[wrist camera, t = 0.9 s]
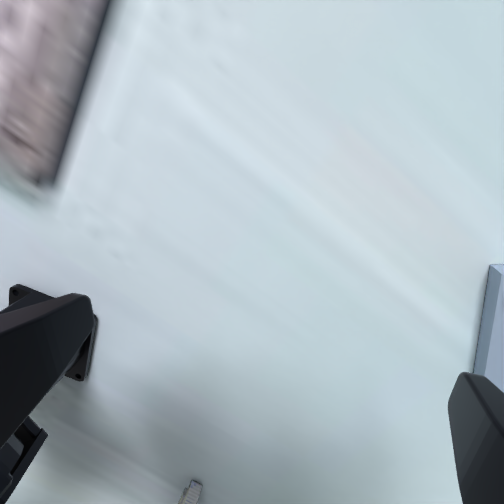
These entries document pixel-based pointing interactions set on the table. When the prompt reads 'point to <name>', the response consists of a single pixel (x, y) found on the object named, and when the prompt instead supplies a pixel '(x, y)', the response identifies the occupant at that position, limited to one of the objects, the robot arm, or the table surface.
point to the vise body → (492, 330)
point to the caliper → (191, 493)
